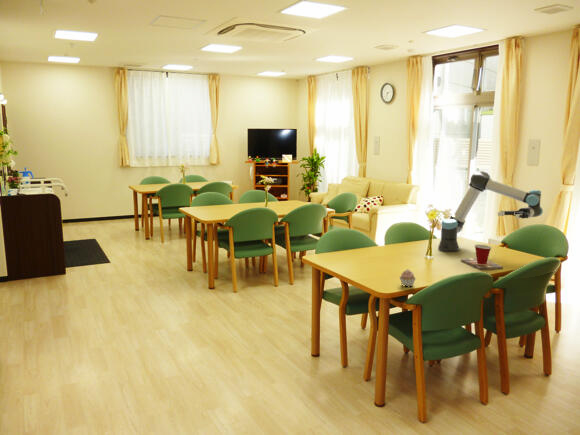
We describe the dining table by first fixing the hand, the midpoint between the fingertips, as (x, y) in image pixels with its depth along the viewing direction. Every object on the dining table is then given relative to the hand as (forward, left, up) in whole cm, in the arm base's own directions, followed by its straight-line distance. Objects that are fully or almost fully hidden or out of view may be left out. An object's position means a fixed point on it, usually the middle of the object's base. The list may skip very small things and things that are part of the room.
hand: (506, 215), depth 319 cm
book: (+8, -23, -32) cm, 40 cm away
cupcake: (+41, -91, -32) cm, 105 cm away
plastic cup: (+10, -23, -30) cm, 40 cm away
